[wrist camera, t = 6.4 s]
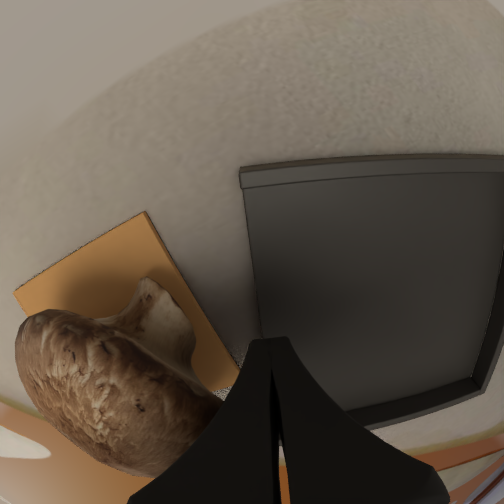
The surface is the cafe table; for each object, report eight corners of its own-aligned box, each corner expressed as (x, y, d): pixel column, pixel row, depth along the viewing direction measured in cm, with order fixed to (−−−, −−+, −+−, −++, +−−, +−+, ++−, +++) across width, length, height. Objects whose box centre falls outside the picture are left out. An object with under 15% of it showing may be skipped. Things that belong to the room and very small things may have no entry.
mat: (145, 210, 11) (142, 212, 10) (245, 377, 13) (245, 381, 13) (15, 290, 12) (12, 293, 11) (110, 412, 14) (108, 416, 14)
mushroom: (164, 205, 7) (38, 484, 3) (304, 352, 12) (259, 507, 8) (44, 245, 11) (-23, 377, 8) (164, 338, 16) (123, 444, 13)
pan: (274, 422, 14) (276, 446, 13) (239, 166, 10) (238, 172, 9) (495, 366, 14) (508, 382, 12) (534, 157, 10) (557, 162, 8)
